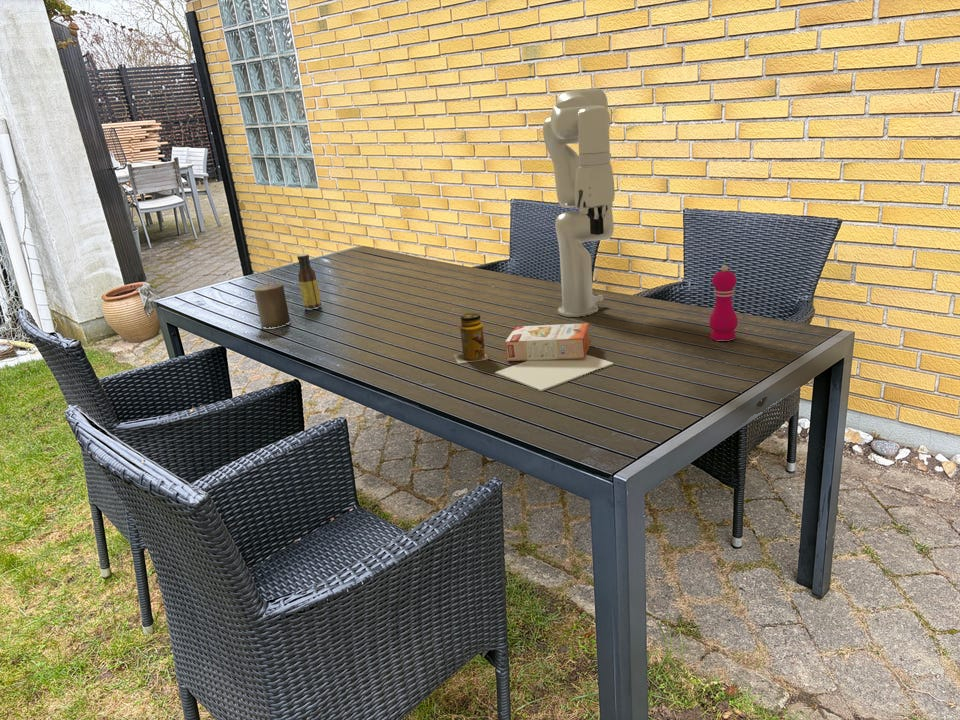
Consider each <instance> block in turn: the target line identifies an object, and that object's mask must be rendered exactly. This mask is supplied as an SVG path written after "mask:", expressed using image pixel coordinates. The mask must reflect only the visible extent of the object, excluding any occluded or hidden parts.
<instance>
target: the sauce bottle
mask: <svg viewBox="0 0 960 720" xmlns="http://www.w3.org/2000/svg"><path fill="white" fill-rule="evenodd" d="M296 257H297V261H298V263H299V271H298V274H297V275H298V281H299V287H300V292H301V297H302V302H303V303H302V304H303V306H304V309H305V308H315V307H319V306H321V305H322V300H321V299H322V298H321V295H320V289H319V284H318V279H317V277H316V276H317V275H316V272H315V270H314V269H313V268H312V266H311V262H310V255H309V253H301V254H298V255H297V256H296ZM321 307H322V306H321Z"/></svg>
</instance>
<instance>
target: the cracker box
mask: <svg viewBox="0 0 960 720" xmlns="http://www.w3.org/2000/svg"><path fill="white" fill-rule="evenodd" d="M591 339H592V338H591V325H590V322H589V323H588V322H585V323H584V322H583V323H582V322H581V323H563V324H546V325H545V324H542V325H523V326H521V325H520V326H519V325H518V326H515V327H514V329H513V330H512V331H511V333H510V335H509V336H508V337H507V338H506V340H505V342H504V345H505V352H506V360H507V362H516V361H517V362H518V361H519V362H520V361H524V362H525V361H529V360H551V359H577V358H585V357H586V355H588V354H587V353H588V350H589V349H590V345H591V342H592V340H591Z"/></svg>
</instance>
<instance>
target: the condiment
mask: <svg viewBox="0 0 960 720" xmlns="http://www.w3.org/2000/svg"><path fill="white" fill-rule="evenodd" d="M481 321H482V320H481V315H480V314H479V313H477V312H468V313H464V314H462V315H461V316H460V326H459V331H460V337H461V338H460V340H461V348H462V350H461V351H462V353H458V354H453V355H452V356H453V358H454V360H455V361H456V363H457V364H458V365H460V364H465V363H471V362H474V363H475V362H479V361H485V360H489V359H490V358H489V357H488V356H487V354H486V353H485V351H486V350H485V340H484V339H485V337H484V330H483V329H484V327H483V324H482V322H481Z"/></svg>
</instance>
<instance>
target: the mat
mask: <svg viewBox="0 0 960 720" xmlns="http://www.w3.org/2000/svg"><path fill="white" fill-rule="evenodd" d="M613 365H615V364H614V362H612V361H609V360H605V359H603V358H599V357H595V356H593V355H590V354H586V357H585V358H577V359H551V360H525V361H524V362H521V363H517V364H515V365H512V366H511V365H510V366H509V367H506V368H502V369H499V370H497V371H495V372H494V373H495V374H496V375H499V376H501V377H503V378H506V379H508V380H511V381H514V382H516V383H518V384H521V385H524V386H526V387H529V388H532V389H534V390H536V389H537V391H539V392H544V391H546V390H549V389H552V388H554V387H558V386H559V385H562V384H565V383H567V382H570V381H573V380H575V379H579V378H581V377H583V375H584V376H586V374H587V375H588V373H589V374H591V373H590V372H592V373H594V372H593V371H595V370H597V371H599V370H598V369H600V370H602V369H601V368H603V369H606V368H608V367H610V366H613ZM595 372H596V371H595Z"/></svg>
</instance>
